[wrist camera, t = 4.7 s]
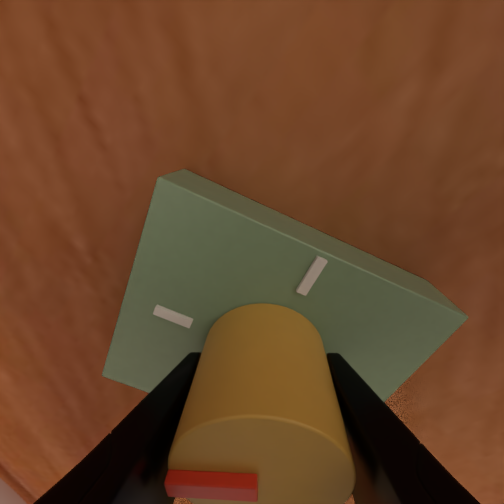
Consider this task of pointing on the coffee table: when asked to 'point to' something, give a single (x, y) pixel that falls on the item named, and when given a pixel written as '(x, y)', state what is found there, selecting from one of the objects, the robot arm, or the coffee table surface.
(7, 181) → the coffee table surface
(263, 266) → the plate
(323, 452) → the lock knob
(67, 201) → the coffee table surface
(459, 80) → the coffee table surface
